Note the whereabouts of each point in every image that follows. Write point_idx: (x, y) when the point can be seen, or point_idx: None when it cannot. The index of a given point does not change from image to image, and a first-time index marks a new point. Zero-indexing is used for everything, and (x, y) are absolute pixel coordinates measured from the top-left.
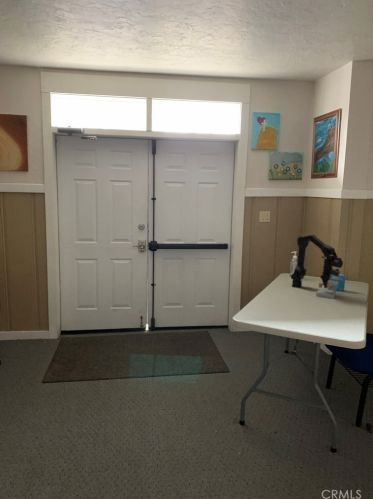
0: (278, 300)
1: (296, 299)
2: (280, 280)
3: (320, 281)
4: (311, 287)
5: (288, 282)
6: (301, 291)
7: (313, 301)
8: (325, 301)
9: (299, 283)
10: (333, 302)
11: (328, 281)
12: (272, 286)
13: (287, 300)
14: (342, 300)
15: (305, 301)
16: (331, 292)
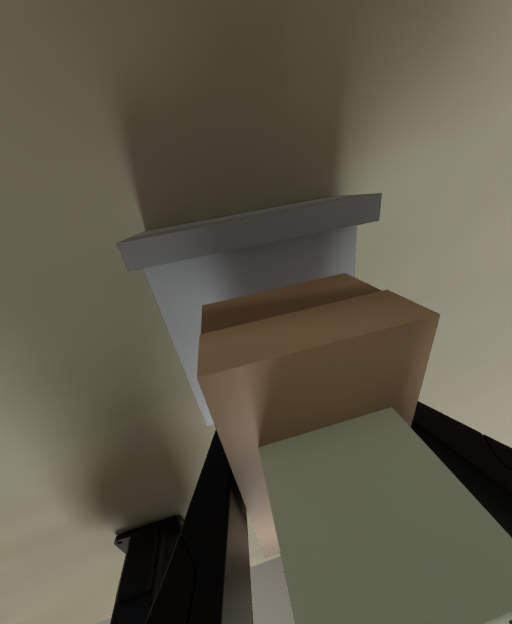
0: (508, 431)
1: (470, 398)
2: (107, 612)
3: (279, 550)
4: (71, 498)
5: (106, 588)
6: None
7: (491, 313)
8: (469, 237)
9: (161, 564)
10: (486, 148)
11: (450, 489)
12: (272, 555)
13: (500, 412)
14: (352, 41)
15: (502, 348)
16: (223, 281)
